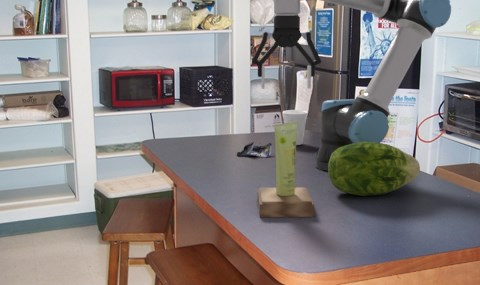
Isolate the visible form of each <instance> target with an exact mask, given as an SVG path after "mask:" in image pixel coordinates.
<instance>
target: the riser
mask: <svg viewBox="0 0 480 285" xmlns="http://www.w3.org/2000/svg"><path fill="white" fill-rule="evenodd" d="M256 190H257V193H256V194H257V196H256V197H257V199H256V200H257V208H258V213H259V214H258V215H259V218H313V217H314V215H315V214H314V213H315V212H314V211H315V203H314V201H313V198H312V196H311V194H310V192H309V190H308V188H306V187H300V186H299V187H295V193H294V195H291V196H280V195H277V194H276V187H259V188H257V189H256Z"/></svg>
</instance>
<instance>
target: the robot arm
mask: <svg viewBox="0 0 480 285" xmlns="http://www.w3.org/2000/svg"><path fill="white" fill-rule="evenodd" d="M320 1H322V2H325V3H330V4H335V5H337V6H341V7H347V8H350V9H354V10H359V11H363V12H366V13H371V14H373V16H374V17H375V18H378V19H381V20H385V21H388V22H392V23H394V24H397V26H398V30H397V31H396V33H395V35H394V37H393V39H392V40H391V42H390V44H389V46H388V48H387V50H386V52H385V54H384V55H383V57H382V59H381V60H380V63H379V64H378V67H377V69H376V70H375V72H374V74H373V76H372V77H371V80H370V82H369V83H368V85H367V87H366V89H365V90H364V93H363V94H360V95H357V96H355V99H354V98H350V99H349V98H348V99H346V98H344V99H330V100H329V99H328V100H324V101H323V102H322V104H321V105H322V106H321V111H320V112H321V123H320V124H321V126H320V130H321V131H320V132H321V133H320V146H319V149H318V151H317V154H316V157H315V162H314V163H315V164H314V166H315V167H316V168H317V169H319V170H323V171H326V172H328V164H329V160H330V157H331V155H332V153H333V152H334V151H335V150H337V149H338V148H340V147H343V146H346V145H349V144H353V143H357V142H375V143H382V141H383V140H385V138H386V137H387V135H388V132H389V129H390V125H389V123H390V122H389V119H388V117H389V115H390V113H391V112H390V110H389V105H390V104H391V102H392V99H394V96H395V94H396V92H397V91H398V90H399V87H400V86H401V83H402V81H403V80H404V77H405V76H406V74H407V72H408V70H409V69H410V67H411V64H412V62H413V61H414V59H415V58H416V55H417V53H418V52H419V50H420V48H421V47H422V46H421V45H422V44H423V42H424V41H425V40H428V39H430V38H432V37H433V34H434V32H435V30H436V29H437V28H440V27H441V28H442V27H443V26H445V25H446V24H447V23H448V21H449V19H450V16H451V14H452V5H451V1H450V0H320ZM273 13H274V14H275V15H274V17H273V32H267V31H264V32H263V33H262V39H261V42H260V43H259V46H258V47H257V50H256V51H255V53H254V55H253V57H252V59H251V63H252V65H256V66H257V77H258V78H261V79H260V80H261V89H264V90H265V83H266V82H265V79H266V78H265V76H266V75H265V71H266V70H265V68H266V67H265V65H263V64H264V63H265V62H266V61H267V60H268V59H269V58H270V56H271V55H272V54H273V53H274V52H275V50H276V49H277V48H278V47H280V48H293V47H295V48H296V49H297V51H299V52H300V54H301V55H302V56H303V57H304V58H305V60H306V61H307V62H308V64H309V65H307V66H306V67H307V72H306V75H307V76H306V88H307V89H310V90H311V89H312V88H311V87H312V78H314V77H315V75H316V74H315V73H316V70H315V69H316V65H320V64H321V63H322V59H321V58H320V56H319V54H318V51H317V49H316V47H315V45H314V42H313V41H312V34H311V32H310V31H306V32H301V17H300V15H299V14H301V0H273ZM271 37H272V39H273V40H274V42H273V44H272V45H271V46H270V48H268V50H267V51H266V52H265V53H264V55H263V56H262V57H261V58H260V55H261V53H262V51H263V50H264V47H265V45H266V44H267V41H268V40H270V38H271ZM301 38H303V40H305V41H306V43H307V45H308V47H309V50H310V51H311V53H312V56H313V58H314V60H313V58H311V57H310V55H309V54H308V52H307V51H306V50H305V49H304V48H303V46H302V45H301V44H300V42H299V40H300V39H301ZM259 58H260V59H259ZM258 59H259V60H258Z"/></svg>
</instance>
